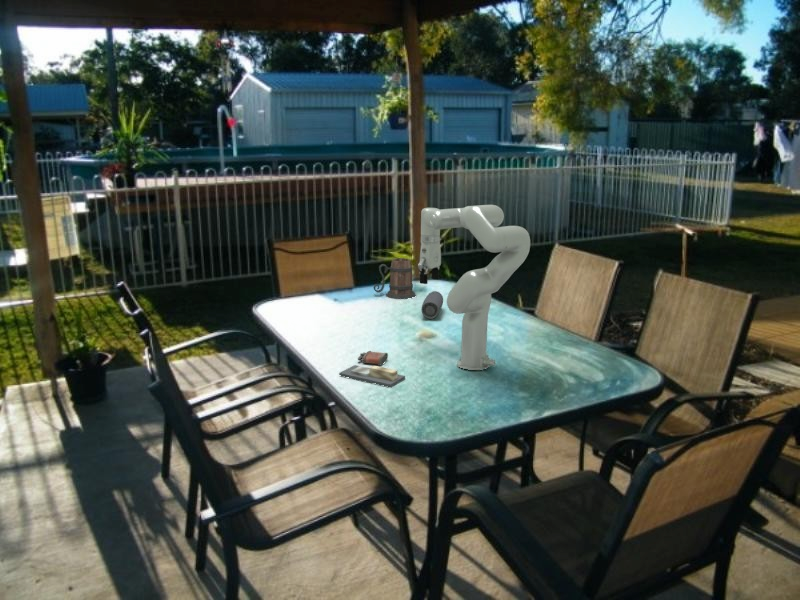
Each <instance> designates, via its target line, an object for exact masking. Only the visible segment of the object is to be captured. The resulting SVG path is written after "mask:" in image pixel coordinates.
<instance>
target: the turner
mask: <svg viewBox="0 0 800 600" xmlns="http://www.w3.org/2000/svg"><path fill="white" fill-rule="evenodd" d="M358 366H359V367H357V368H355V369H353V370H352V371H351V374H356V375H360V376H365V377H368V376H373V377H377V378H382V379H387V380H391V381H394V380H396V379H397V374H398V370H397V369H392V368H389V367H383V366H380V365H379V366H377V365H372V366H370V367H367V366H361V365H358Z"/></svg>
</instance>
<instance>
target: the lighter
mask: <svg viewBox="0 0 800 600" xmlns="http://www.w3.org/2000/svg"><path fill="white" fill-rule="evenodd" d="M388 356H389V354H388V352H378V351H372V350H368V351H366V352H362V353H360V355H359V356H358V357H357V361H360V362H361V361H362V363H363V364H372V365H374V364H375V365H379V366H383V365H384V364H385V363H386V362H387V360H388V358H389V357H388ZM385 361H386V362H385ZM384 362H385V363H384ZM383 363H384V364H383ZM382 364H383V365H382Z"/></svg>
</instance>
